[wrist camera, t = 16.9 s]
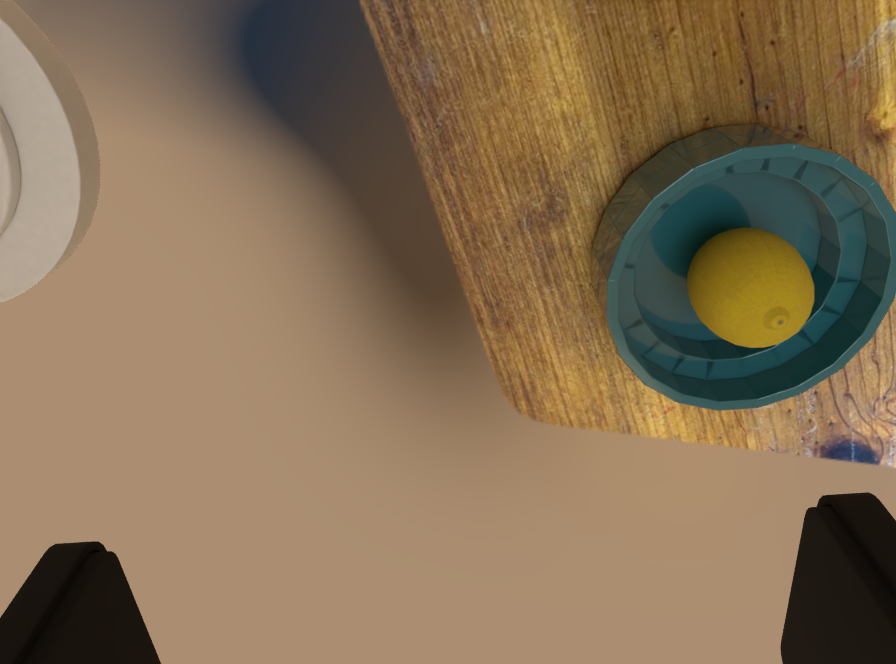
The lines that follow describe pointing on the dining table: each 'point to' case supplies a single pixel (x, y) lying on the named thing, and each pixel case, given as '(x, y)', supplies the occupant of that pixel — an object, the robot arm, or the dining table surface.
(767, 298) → the lemon
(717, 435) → the dining table surface
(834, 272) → the bowl
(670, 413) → the dining table surface
